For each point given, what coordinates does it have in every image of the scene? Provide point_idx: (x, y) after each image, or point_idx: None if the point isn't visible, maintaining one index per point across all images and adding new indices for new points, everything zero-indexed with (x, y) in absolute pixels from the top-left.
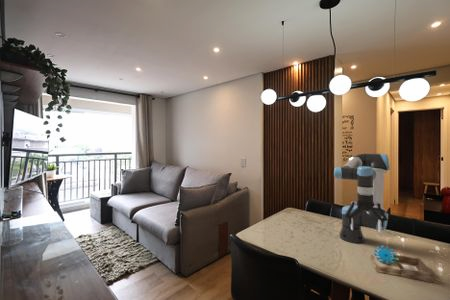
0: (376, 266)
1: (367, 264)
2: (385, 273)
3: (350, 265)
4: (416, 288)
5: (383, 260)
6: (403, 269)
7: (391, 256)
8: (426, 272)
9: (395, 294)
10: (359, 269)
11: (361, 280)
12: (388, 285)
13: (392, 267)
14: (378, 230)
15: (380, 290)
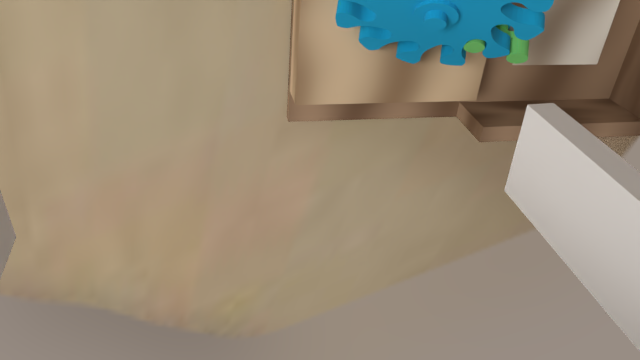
0: (300, 100)
1: (237, 7)
2: (348, 116)
3: (76, 90)
4: (467, 210)
5: (388, 43)
6: (485, 141)
7: (483, 37)
8: (625, 123)
9: (326, 305)
10: (155, 129)
11: (160, 263)
12: (318, 245)
13: (426, 85)
14: (536, 118)
15: (257, 306)
